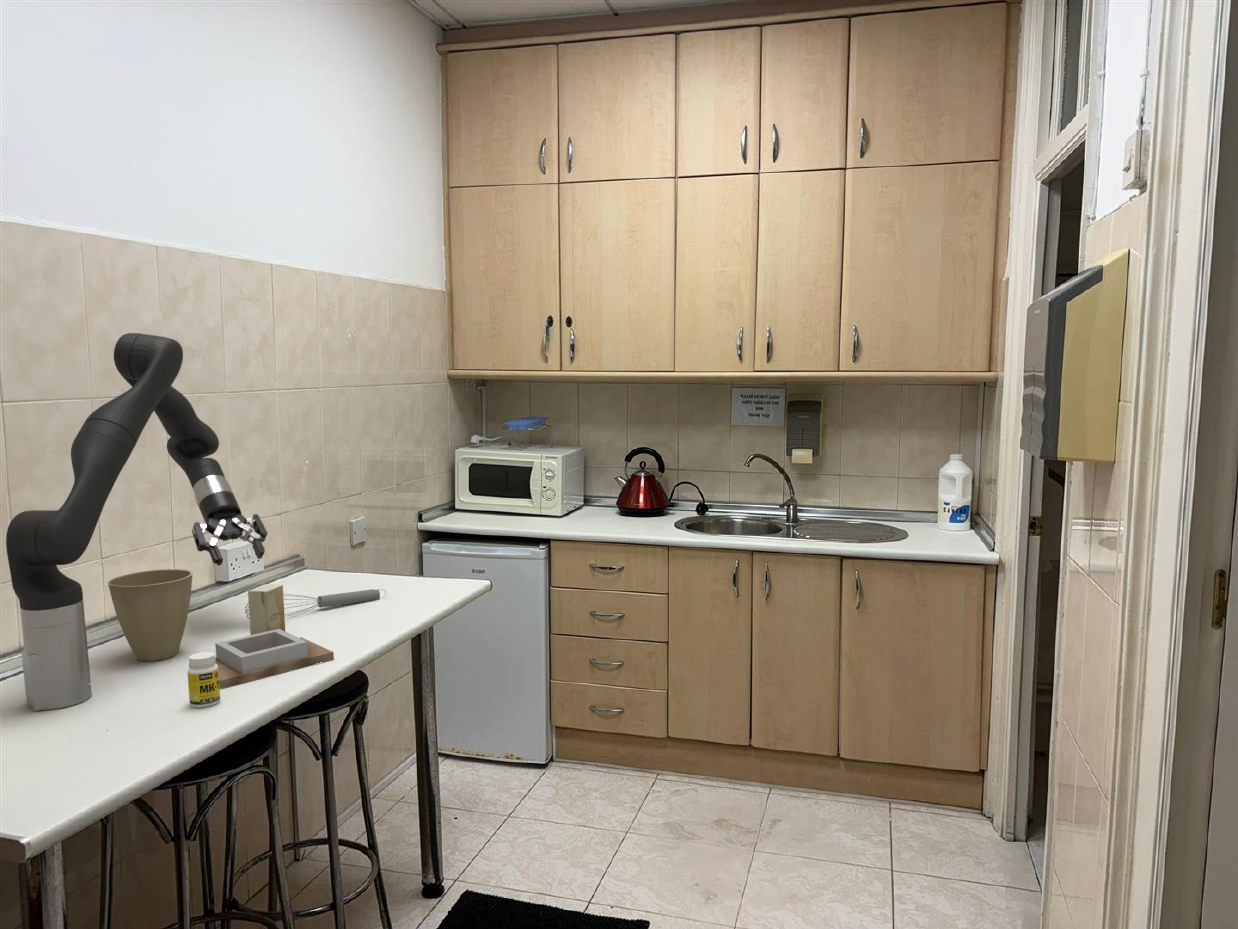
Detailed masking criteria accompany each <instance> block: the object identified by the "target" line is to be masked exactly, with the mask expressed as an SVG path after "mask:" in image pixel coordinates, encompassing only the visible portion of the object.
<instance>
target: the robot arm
mask: <svg viewBox="0 0 1238 929" xmlns="http://www.w3.org/2000/svg"><path fill="white" fill-rule="evenodd" d="M183 360H184V351H183V347H182V346H181V344H180V342H178V341H177V340H175V339H174V338H170V337H165V336H160V335H154V334H148V333H147V334H146V333H141V332H140V333H138V332H128V333H125V334H123V335H121V336H120V337H119V338H118V340H117V341H116V343H115V346H114V349H113V361H114V366H115V369H116V370H117V372H118V373H119V374H120V376H121V377H122V378H123V379H124V380H125V381H126V382H127V383H128V384H129V385H130V386H131V388H129V389H128V390H127V391H124V392H123V393H121V394H120V395H118V396H117V397H115V398H113V399H111V400H109V401H108V402H105V403H104V404H102V405H101V406H99V407H98V408H96V409H95V410H94V411H92V412H91V414H89V415H88V417H86V420H85V421H84V422H83V425H82V426H81V427H80V429H79V431H78V432H77V434H76V435H75V438H74V439H73V441H72V444H71V448H70V458H71V459H70V460H71V465H72V466H71V467H72V470H73V480H74V481H73V485H72V488H71V490H70V491H69V494H68V496H67V498H66V499H65V502H63V504H62V505H61V506H60V508H59V509H58V510H52V509H51V510H49V509H48V510H46V509H45V510H44V509H43V510H42V509H41V510H39V509H36V510H35V509H33V510H24V511H21V512H19V513H17V514H16V515H15V516H14V517H13V518H12V519H11V521H10V522H9V524H8V527H7V530H6V536H5V547H6V554H7V562H8V567H9V572H10V580H11V586H12V589H13V591H14V593H15V595H16V597H17V599H18V601H19V609H20V619H21V630H22V639H23V648H22V649H21V659H22V660H21V661H22V670H23V679H24V680H23V681H24V682H23V683H24V688H25V690H24V691H25V698H26V699H25V700H26V704H27V705H28V706H29V705H30V706H29V707H30V709H32V710H33V711H34V712H39V711H44V710H55V709H61V708H62V709H63V708H67V707H71V706H73V705H76V704H80V703H83V702H84V701H87V700H88V699H90V698H91V697H92V693H93V691H92V681H91V670H90V660H89V647H88V639H87V629H86V628H87V627H86V617H85V608H84V607H85V605H84V592H83V588H82V585H81V583H79V582H78V581H77V580H74V579H72V578H70V577H69V576H67V575H65V574H64V573H62V571H60V570H59V567H58V566H64V565H65V566H66V565H70V564H73V563H75V562H76V561H78V560H79V559H80V558H81V556H83V555H84V553H85V552H86V550H87V548H88V546H89V544H90V543H91V542H90V541H91V540H92V537H93V535H94V533H95V530H96V527H97V525H98V522H99V520H100V517H101V515H102V512H103V510H104V507H105V504H106V502H107V500H108V499H109V498H108V497H109V496H110V494H111V491H113V487H114V485H115V484H116V482H117V479H118V477H119V476H120V474H121V472H122V470H123V468H124V467H125V465H126V463H127V461H128V460H129V458H130V457H131V455H132V452H133V451H134V449H135V448H136V445H137V443H138V441H139V438H140V437H141V434H143V433H142V432H143V430H144V429H145V427H146V425H147V424H148V422H149V419H150V417H151V416H152V415H153V413H155V415H156V416H157V417H158V420H159V422H160V423H161V425H162V427H163V428H164V430H165V432H166V434H167V435H168V436H169V438H168V439H167V442H166V450H167V452H168V454H169V456H170V458H172V459H173V461H174V462H175V463H176V464H177V465H178V466H179V467H180V468H181V470H182V471H183V472H184V474H185V475H186V477H187V478H188V481H189V484H190V485H191V488H192V490H193V493H194V499H195V501H196V505H197V506H198V510H199V511H200V514H201V515H202V519H203V521H204V523H200V522H198V521H195V522H194V523H193V526H192V529H191V533H192V537H193V539H194V543H195V546H196V549H197V551H198V552H203V551H206V552H208V553H209V556H210V558H211V561H212V563H214V564H216V566H222V565H223V562H224V560H223V559H224V558H223V556H222V553H221V550H220V548H219V546H218V543H219V541H220V540H222V542H224V541H229V540H238V539H240V540H242V541H243V542H248V543H249V544H251V545H252V550H253V551H254V553H255V555H256V558H257V560H259V559H260V560H261V559H263V556H264V555H265V552H266V550H265V549H266V548H265V547H264V545H263V543H265V541H266V538H267V536H268V531H267V528H266V527H265V524H264V523H263V522H262V520H261V518H260V516H259V514H257V513H254V514H253V516H252V517H245V516H244V515H243V514H242V510H241V507H240V506H239V505H240V504H239V503H238V501H237V499H236V497H235V496H236V495H235V494H234V491H233V489H232V487H231V485H230V483H229V482H228V480H227V479H226V476H225V474H224V471H223V470H222V467H221V465H220V463H219V462H218V460H217V459H215V458H212V457H208V456H211V455H213V454H215V453H216V452H217V451H218V450H219V445H220V441H219V437H218V435H217V434H216V432H215V431H214V430H213V429H212V427H210V426H209V425H208V424H207V423H205V421H202V420H201V419H200V418H199V417H198V415H197V413H196V411H195V409H194V408H193V405H192V403H191V402H190V401H189V400H188V398H187V397H186V396H185V395H184V394H182V393H181V391H179V390H178V389H177V388H175V387H173V386H172V385H173V384H174V382H175V380H176V378H177V377H178V375H179V373H180V370H181V368H182V365H183ZM253 530H254V531H253ZM205 531H206V532H207V533H209V534H210V535H212V537H211V538H210V541H206V538H205V535H204V534H205Z"/></svg>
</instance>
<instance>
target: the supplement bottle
mask: <svg viewBox="0 0 1238 929" xmlns="http://www.w3.org/2000/svg"><path fill="white" fill-rule="evenodd" d="M215 657H216V653H214V652H212V651H203V652H197V653H193V654H192V655H190V656H189V657H188V658H189V660H188V662H189V663H188V665H189V664H190V666H191V667H190V668H189V667H188V669H187V681H188V682H187V683H188V685H187V686H188V696H189V697H188V698H189V699H188V700H189V705H190V707H192V708H197V709H198V708H208V707H212V706H215V705H217V704H218V703H219V702H220V700H221V692H220V691H221V689H220V688H219V673H218V666H217V664H215V660H216V659H215Z"/></svg>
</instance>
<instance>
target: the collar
mask: <svg viewBox="0 0 1238 929" xmlns="http://www.w3.org/2000/svg"><path fill="white" fill-rule="evenodd" d="M214 644H215V646H214V647H215V657H216V658H217V659H218V660H220V661H222V662H223V663H225V664H227V665H229V666H230V667H232V668H234V669H236V670H237V671H239V672H241V673H242V674H243V673H247V672H251V671H255V670H259V669H263V668H267V667H271V666H275V665H279V664H283V663H287V662H291V661H295V660H299V659H303V658H307V657H308V644H307V641H305V640H302V639H300V637H298V636H296V635H294V634H291V633H289V632H287V631H286V630H285V631H283V630H281V629H276V630H271V631H267V632H262V633H258V634H254V635H246V636H241V637H236V638H233V639H227V640H223V641H218V642H215V643H214ZM272 647H273V648H272ZM268 648H269V649H268ZM264 649H265V650H264ZM251 652H252V653H251ZM247 653H248V654H247Z"/></svg>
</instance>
